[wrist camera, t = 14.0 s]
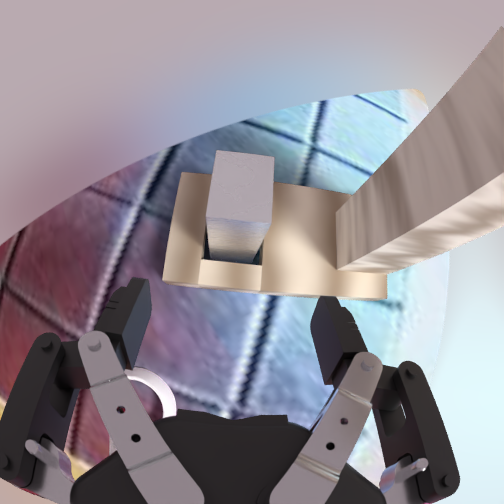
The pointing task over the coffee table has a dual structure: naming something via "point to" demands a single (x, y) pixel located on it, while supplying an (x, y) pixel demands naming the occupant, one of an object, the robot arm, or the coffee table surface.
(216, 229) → the smooth gray rectangular block
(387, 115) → the coffee table surface
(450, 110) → the beam with square loop
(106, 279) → the coffee table surface
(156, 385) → the white vr controller
